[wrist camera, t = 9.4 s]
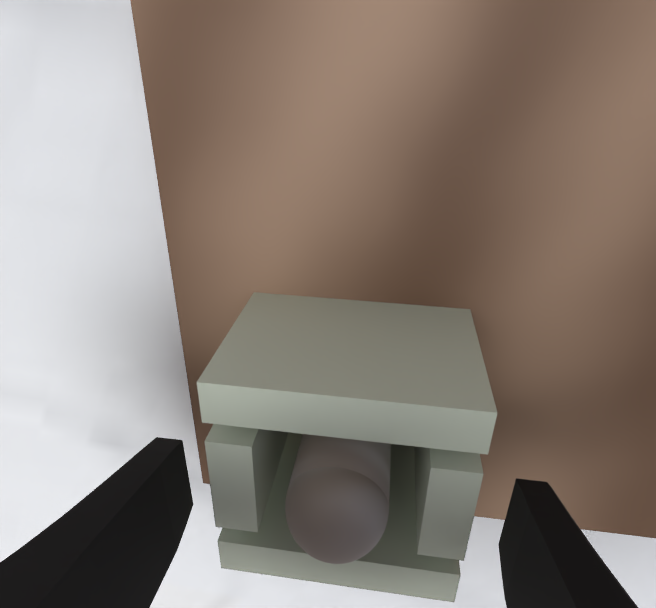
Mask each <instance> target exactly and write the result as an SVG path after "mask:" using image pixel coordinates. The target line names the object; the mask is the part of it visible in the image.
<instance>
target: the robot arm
mask: <svg viewBox="0 0 656 608" xmlns="http://www.w3.org/2000/svg"><path fill="white" fill-rule="evenodd" d="M192 506H193V500H192V494H191V489H190V483H189V477H188V471H187V465H186V459H185V453H184V447H183V442H182V440H176V439H167V438H158V437H156V438H155V439H154V440H153V441H152V442H150V443H149V444H148V445H147V446H146V447H144V448H143V449H142V450H141V451H140V452H138V453H137V454H136V455H135V456H134V457H133V458H131V459H130V460H129V461H128V462H127V463H126V464H124V465H123V466H122V467H121V468H120V469H119V470H117V471H116V472H115V473H114V474H113V475H111V476H110V477H109V478H108V479H107V480H106V481H104V482H103V483H102V484H101V485H100V486H98V487H97V488H96V489H95V490H94V491H92V492H91V493H90V494H89V495H88V496H86V497H85V498H84V499H83V500H81V501H80V502H79V503H78V504H77V505H75V506H74V507H73V508H72V509H71V510H69V511H68V512H67V513H66V514H64V515H63V516H62V517H61V518H59V519H58V520H57V521H55V522H54V523H53V524H51V525H50V526H49V527H47V528H46V529H45V530H44V531H42V532H41V533H40V534H38V535H37V536H36V537H34V538H33V539H32V540H30V541H29V542H28V543H27V544H25V545H24V546H23V547H21V548H20V549H19V550H17V551H16V552H14V553H13V554H12V555H10V556H9V557H7V558H6V559H5V560H3V561H2V562H0V608H149V607H150V605H151V603H152V601H153V599H154V597H155V595H156V593H157V591H158V589H159V587H160V585H161V583H162V580H163V578H164V576H165V574H166V572H167V570H168V568H169V566H170V564H171V562H172V560H173V558H174V555H175V553H176V551H177V549H178V546H179V543H180V541H181V538H182V535H183V532H184V530H185V527H186V524H187V521H188V518H189V515H190V512H191V509H192ZM499 552H500V561H501V571H502V579H503V587H504V595H505V601H506V605H507V608H638V607H637V605H636V604H635V603H634V602H633V600H632V599H631V598H630V596H629V595H628V594H627V592H626V591H625V590H624V588H623V587H622V586H621V584H620V583H619V582H618V580H617V579H616V578H615V577H614V575H613V574H612V573H611V571H610V570H609V569H608V567H607V566H606V565H605V563H604V562H603V560H602V559H601V558H600V556H599V555H598V554H597V552H596V551H595V549H594V548H593V547H592V545H591V544H590V542H589V541H588V540H587V538H586V537H585V535H584V534H583V532H582V531H581V530H580V528H579V527H578V525H577V524H576V522H575V521H574V519H573V518H572V517H571V515H570V514H569V512H568V511H567V509H566V508H565V506H564V505H563V503H562V502H561V500H560V499H559V497H558V496H557V494H556V493H555V491H554V490H553V489H552V487H551V486H550V485H549V484H548V482H544V481H535V480H527V479H518V478H516V480H515V484H514V488H513V492H512V495H511V499H510V503H509V507H508V511H507V514H506V518H505V522H504V526H503V530H502V533H501V537H500V541H499Z"/></svg>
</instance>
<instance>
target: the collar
mask: <svg viewBox="0 0 656 608" xmlns="http://www.w3.org/2000/svg"><path fill="white" fill-rule="evenodd" d="M197 389H198V396H199V404H200V411H201V419H202V423H210V424H213V426H212V428H211V430H210V432H209V434H208V436H207V437H206V439H205V441H204V442H205V449H206V457H207V464H208V472H209V479H210V487H211V495H212V502H213V510H214V517H215V525H216V527H222V531H221V534H220V536H219V539H218V547H219V555H220V562H221V568H225V569H232V570H238V571H245V572H252V573H259V574H265V575H272V576H279V577H286V578H293V579H299V580H306V581H313V582H320V583H327V584H333V585H340V586H347V587H354V588H360V589H367V590H374V591H381V592H388V593H394V594H401V595H408V596H415V597H421V598H428V599H435V600H442V601H449V602H454V601H455V597H456V592H457V588H458V584H459V579H460V567H459V560H462V561H464V557H465V553H466V549H467V544H468V540H469V535H470V531H471V527H472V522H473V518H474V513H475V509H476V505H477V500H478V496H479V492H480V487H481V483H482V478H483V468H482V463H481V458H480V454H487V455H488V452H489V448H490V443H491V439H492V435H493V430H494V426H495V421H496V417H497V409H496V405H495V402H494V398H493V394H492V390H491V386H490V383H489V379H488V375H487V371H486V367H485V364H484V360H483V356H482V352H481V348H480V345H479V341H478V337H477V333H476V329H475V326H474V322H473V318H472V314H471V310H470V309H460V308H448V307H435V306H422V305H409V304H397V303H384V302H371V301H358V300H346V299H333V298H320V297H307V296H295V295H282V294H269V293H256V292H254V293H253V294H252V296H251V298H250V299H249V301H248V302H247V304H246V305H245V307H244V309H243V310H242V312H241V313H240V315H239V316H238V318H237V320H236V321H235V323H234V324H233V326H232V327H231V329H230V331H229V332H228V334H227V335H226V337H225V338H224V340H223V342H222V343H221V345H220V346H219V348H218V349H217V351H216V353H215V354H214V356H213V357H212V359H211V360H210V362H209V364H208V365H207V367H206V368H205V370H204V371H203V373H202V375H201V376H200V378H199V379H198V381H197ZM302 434H309V435H318V436H327V437H335V438H344V439H353V440H362V441H371V442H380V443H389V444H391V464H390V494H389V516H388V521H387V525H386V528H385V531H384V533H383V535H382V537H381V539H380V540H379V542H378V543H377V545H376V546H375V547H374V548H373V549H372V550H371V551H370V552H369V553H367V554H366V555H365V556H363V557H361V558H360V559H358V560H355V561H352V562H349V563H344V564H331V563H326V562H322V561H319V560H317V559H315V558H313V557H311V556H310V555H309V554H307V553H306V552H305V551H304V550H303V549H302V548H301V547H300V546H299V545H298V544H297V542H296V541H295V540H294V538H293V536H292V534H291V532H290V530H289V527H288V524H287V521H286V513H285V500H286V494H287V490H288V486H289V483H290V479H291V475H292V471H293V468H294V464H295V460H296V457H297V453H298V449H299V445H300V442H301V438H302Z"/></svg>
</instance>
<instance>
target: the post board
mask: <svg viewBox="0 0 656 608" xmlns="http://www.w3.org/2000/svg"><path fill="white" fill-rule="evenodd" d="M131 7H132V13H133V20H134V27H135V33H136V40H137V47H138V53H139V60H140V67H141V73H142V80H143V86H144V93H145V100H146V106H147V113H148V120H149V126H150V133H151V140H152V146H153V153H154V159H155V166H156V173H157V179H158V186H159V193H160V199H161V206H162V213H163V219H164V226H165V232H166V239H167V246H168V252H169V259H170V266H171V272H172V279H173V286H174V292H175V299H176V306H177V312H178V319H179V325H180V332H181V339H182V345H183V352H184V359H185V365H186V372H187V379H188V385H189V392H190V398H191V405H192V412H193V418H194V425H195V432H196V438H197V445H198V452H199V458H200V465H201V471H202V478H203V483H207V484H210V479H209V472H208V464H207V457H206V449H205V442H204V441H205V439H206V437H207V436H208V434H209V432H210V430H211V428H212V426H213V424H210V423H202V419H201V411H200V404H199V396H198V389H197V381H198V379H199V378H200V376H201V375H202V373H203V371H204V370H205V368H206V367H207V365H208V364H209V362H210V360H211V359H212V357H213V356H214V354H215V353H216V351H217V349H218V348H219V346H220V345H221V343H222V342H223V340H224V338H225V337H226V335H227V334H228V332H229V331H230V329H231V327H232V326H233V324H234V323H235V321H236V320H237V318H238V316H239V315H240V313H241V312H242V310H243V309H244V307H245V305H246V304H247V302H248V301H249V299H250V298H251V296H252V294H253V293H254V292H256V293H269V294H282V295H295V296H307V297H320V298H333V299H346V300H358V301H371V302H384V303H397V304H409V305H422V306H435V307H448V308H460V309H470V310H471V314H472V318H473V322H474V326H475V329H476V333H477V337H478V341H479V345H480V348H481V352H482V356H483V360H484V364H485V367H486V371H487V375H488V379H489V383H490V386H491V390H492V394H493V398H494V402H495V405H496V409H497V417H496V421H495V426H494V430H493V435H492V439H491V443H490V448H489V452H488V455H487V454H480V458H481V463H482V468H483V478H482V483H481V487H480V492H479V496H478V500H477V505H476V509H475V513H474V516H478V517H486V518H494V519H502V520H505V518H506V514H507V511H508V507H509V503H510V499H511V495H512V492H513V488H514V484H515V480H516V478H518V479H527V480H535V481H544V482H548V484H549V485H550V486H551V487H552V489H553V490H554V491H555V493H556V494H557V496H558V497H559V499H560V500H561V502H562V503H563V505H564V506H565V508H566V509H567V511H568V512H569V514H570V515H571V517H572V518H573V519H574V521H575V522H576V524H577V525H578V527H579V528H580V529H585V530H593V531H601V532H609V533H617V534H626V535H634V536H642V537H650V538H656V0H131ZM390 464H391V444H389V443H380V442H371V441H362V440H353V439H344V438H335V437H327V436H318V435H309V434H302V438H301V442H300V445H299V449H298V453H297V457H296V460H295V464H294V468H293V471H292V475H291V479H290V483H289V486H288V490H287V494H286V500H285V513H286V521H287V524H288V527H289V530H290V532H291V534H292V536H293V538H294V540H295V541H296V542H297V544H298V545H299V546H300V547H301V548H302V549H303V550H304V551H305V552H306V553H307V554H309V555H310V556H311V557H313V558H315V559H317V560H319V561H322V562H326V563H331V564H344V563H349V562H352V561H355V560H358V559H360V558H361V557H363V556H365V555H366V554H367V553H369V552H370V551H371V550H372V549H373V548H374V547H375V546H376V545H377V543H378V542H379V540H380V539H381V537H382V535H383V533H384V531H385V528H386V525H387V521H388V516H389V494H390Z"/></svg>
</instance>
